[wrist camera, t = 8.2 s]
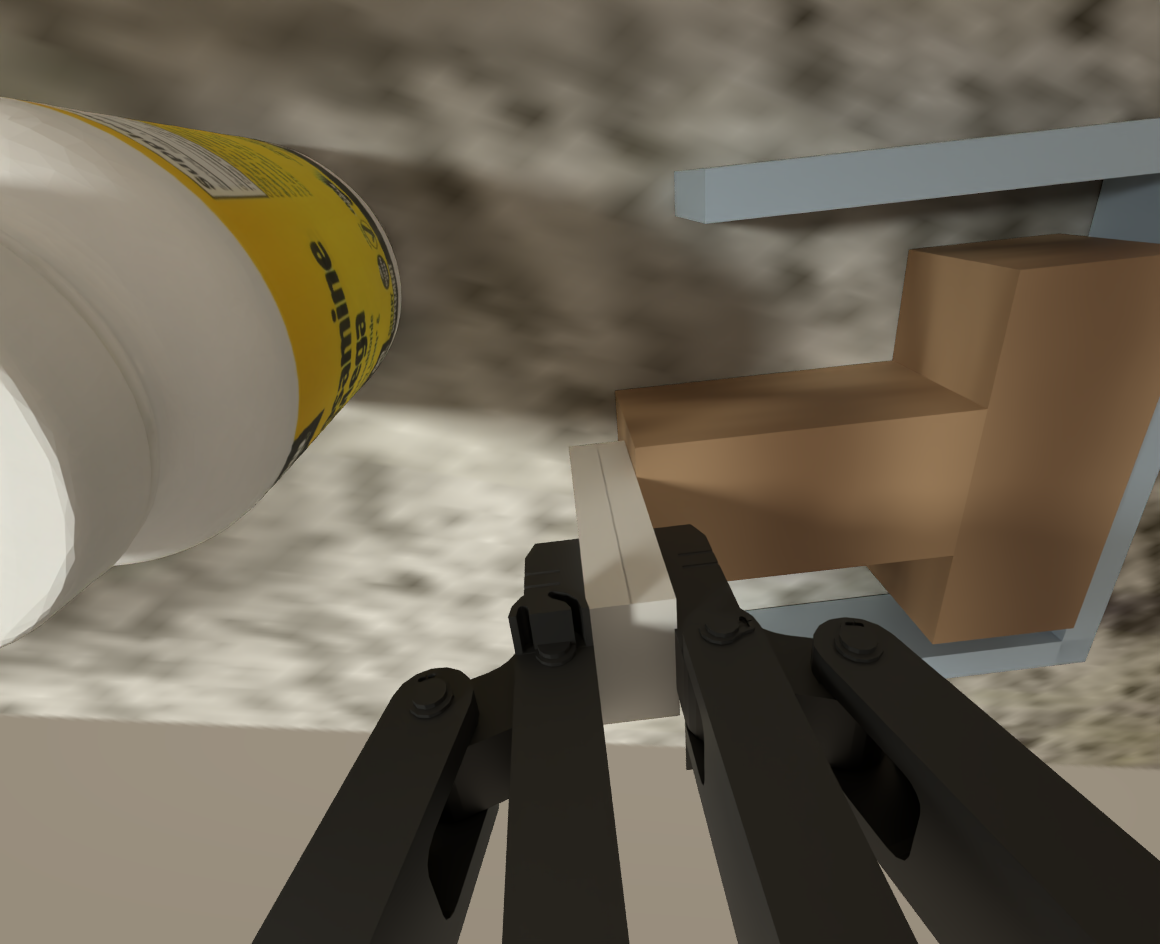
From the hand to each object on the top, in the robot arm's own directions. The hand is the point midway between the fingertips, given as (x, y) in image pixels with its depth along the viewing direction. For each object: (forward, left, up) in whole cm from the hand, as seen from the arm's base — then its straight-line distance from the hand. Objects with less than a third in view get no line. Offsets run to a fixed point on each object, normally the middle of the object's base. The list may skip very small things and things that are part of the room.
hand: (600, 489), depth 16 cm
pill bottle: (-7, +6, -2) cm, 10 cm away
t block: (+7, 0, -2) cm, 7 cm away
